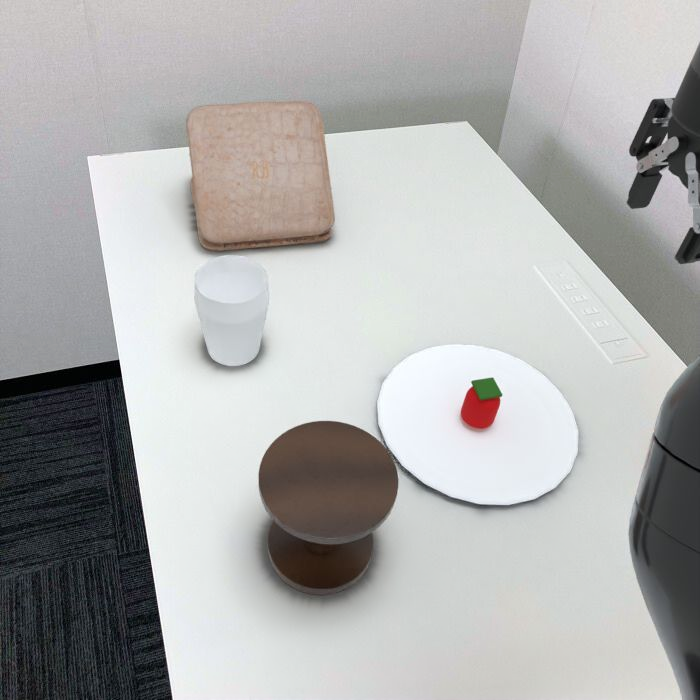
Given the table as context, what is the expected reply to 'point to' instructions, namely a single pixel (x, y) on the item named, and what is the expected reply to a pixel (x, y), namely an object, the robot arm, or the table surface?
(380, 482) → the stand
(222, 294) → the cup
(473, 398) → the strawberry
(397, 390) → the plate
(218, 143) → the case
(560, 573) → the table surface
